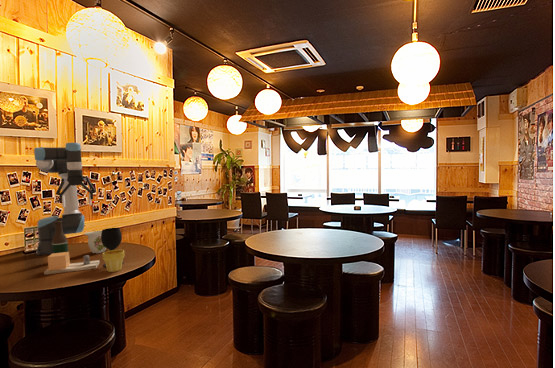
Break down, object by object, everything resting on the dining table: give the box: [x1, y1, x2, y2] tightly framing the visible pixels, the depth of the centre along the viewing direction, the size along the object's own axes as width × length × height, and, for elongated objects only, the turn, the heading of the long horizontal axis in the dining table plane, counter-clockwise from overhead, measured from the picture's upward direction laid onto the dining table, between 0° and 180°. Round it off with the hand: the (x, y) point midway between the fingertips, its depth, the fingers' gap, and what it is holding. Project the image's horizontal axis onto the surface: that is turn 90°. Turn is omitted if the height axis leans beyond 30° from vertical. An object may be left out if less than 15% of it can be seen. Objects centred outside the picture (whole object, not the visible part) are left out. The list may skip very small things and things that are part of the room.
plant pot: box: [102, 249, 125, 273], centre depth 178 cm, size 10×10×10 cm
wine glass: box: [101, 227, 124, 268], centre depth 188 cm, size 10×10×20 cm
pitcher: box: [83, 230, 107, 254], centre depth 219 cm, size 11×18×14 cm, turn 137°
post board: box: [43, 254, 101, 276], centre depth 184 cm, size 12×24×6 cm, turn 109°
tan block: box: [47, 251, 71, 270], centre depth 182 cm, size 8×8×7 cm
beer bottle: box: [52, 221, 69, 253], centre depth 200 cm, size 8×8×24 cm
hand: (77, 205), depth 197 cm, fingers open, 13 cm apart
